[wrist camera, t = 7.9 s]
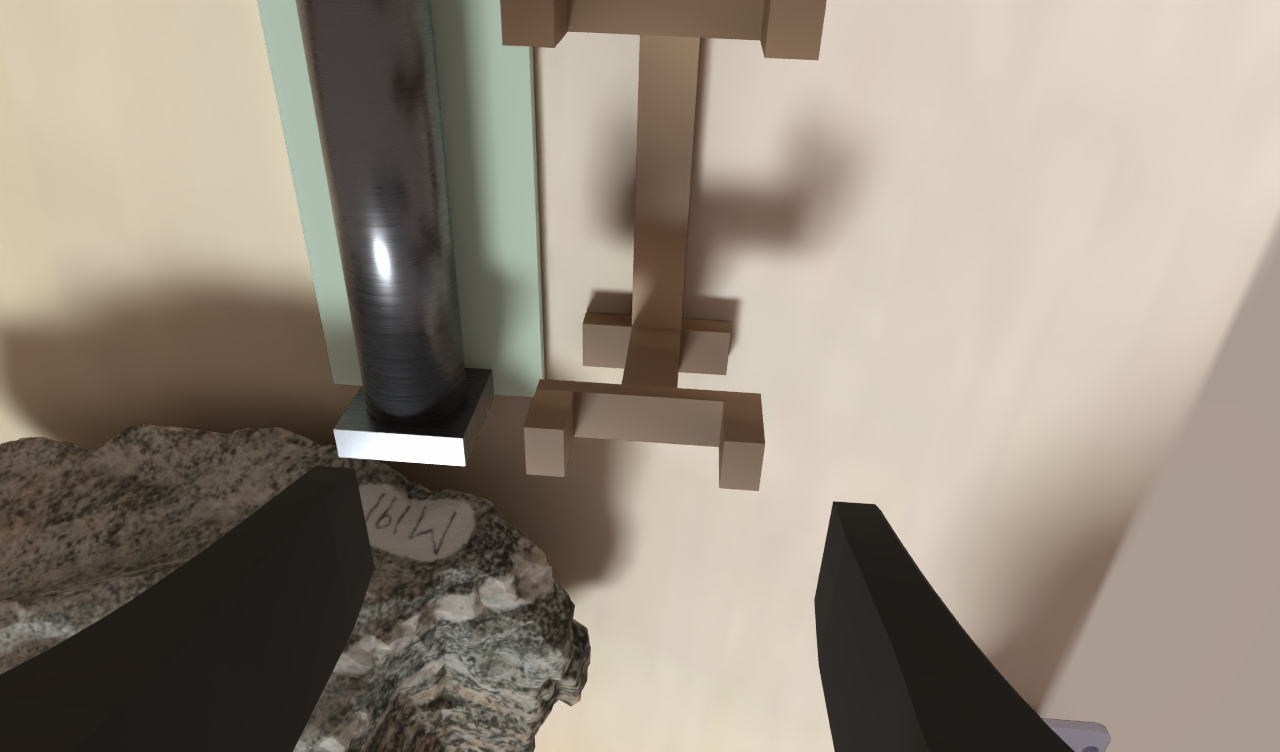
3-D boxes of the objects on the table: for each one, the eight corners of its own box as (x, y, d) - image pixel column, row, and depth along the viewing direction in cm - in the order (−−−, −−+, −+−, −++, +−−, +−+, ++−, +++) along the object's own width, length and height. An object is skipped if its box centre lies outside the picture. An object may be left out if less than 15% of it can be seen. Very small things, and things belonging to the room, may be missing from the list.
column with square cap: (494, 394, 22) (465, 466, 19) (382, 387, 22) (338, 457, 19) (454, -143, 15) (403, -144, 13) (296, -149, 15) (215, -150, 13)
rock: (585, 434, 20) (537, 912, 17) (613, 498, 29) (586, 815, 26) (-130, 387, 21) (-292, 827, 18) (116, 463, 30) (35, 763, 27)
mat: (545, 389, 22) (542, 397, 22) (339, 376, 22) (333, 383, 22) (525, -142, 16) (521, -141, 15) (237, -152, 16) (226, -152, 16)
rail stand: (749, 364, 21) (758, 490, 17) (563, 352, 21) (526, 474, 17) (799, -59, 16) (830, -29, 12) (553, -69, 16) (497, -43, 12)
